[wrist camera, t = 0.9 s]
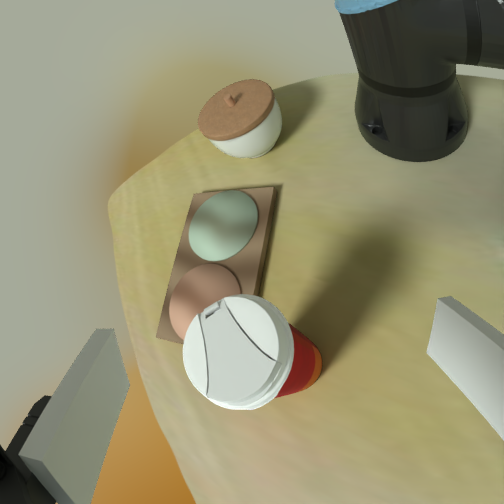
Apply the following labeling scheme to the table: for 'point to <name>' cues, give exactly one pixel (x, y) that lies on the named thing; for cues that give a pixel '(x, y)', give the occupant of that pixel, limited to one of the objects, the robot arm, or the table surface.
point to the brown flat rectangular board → (217, 254)
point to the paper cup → (247, 353)
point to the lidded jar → (242, 119)
